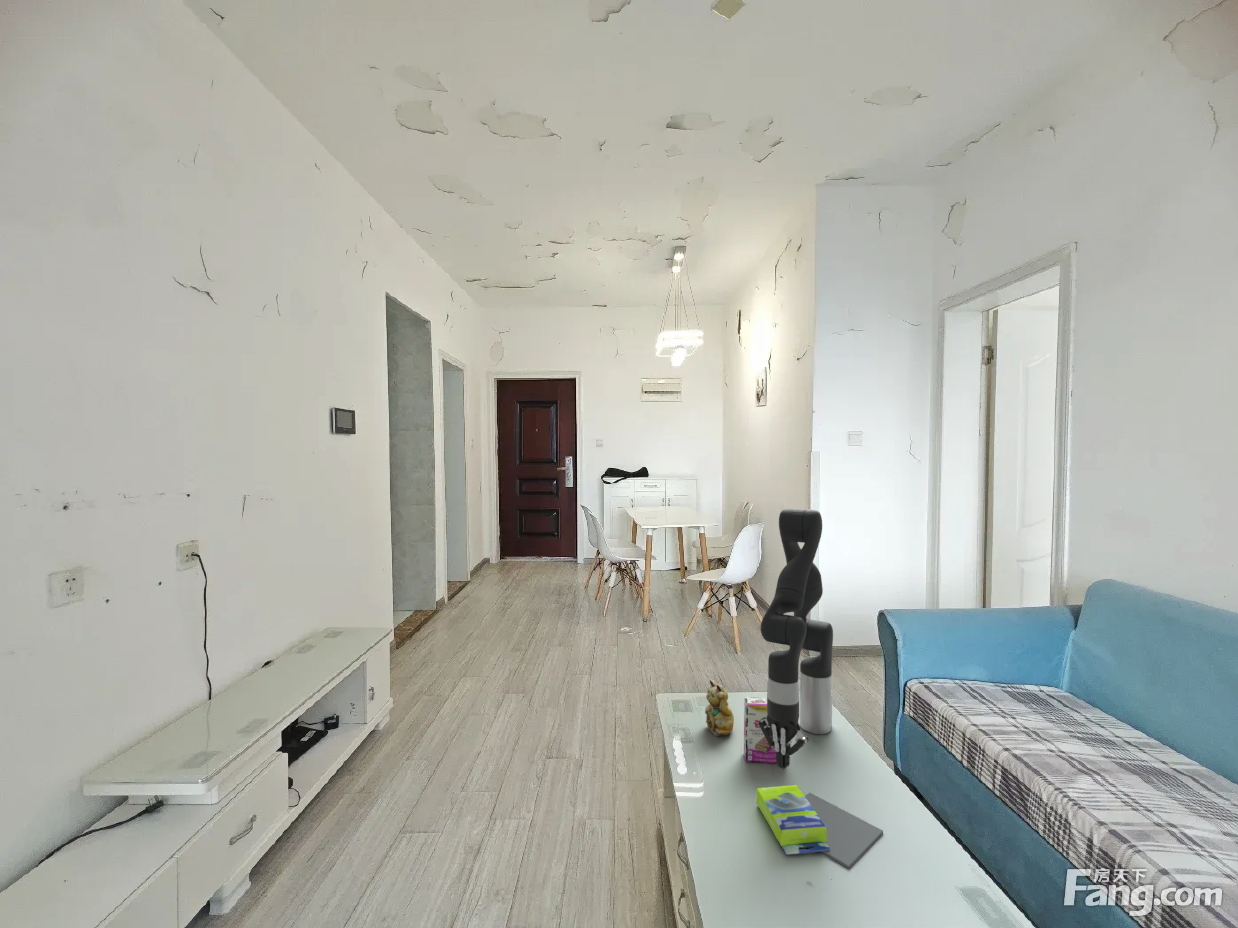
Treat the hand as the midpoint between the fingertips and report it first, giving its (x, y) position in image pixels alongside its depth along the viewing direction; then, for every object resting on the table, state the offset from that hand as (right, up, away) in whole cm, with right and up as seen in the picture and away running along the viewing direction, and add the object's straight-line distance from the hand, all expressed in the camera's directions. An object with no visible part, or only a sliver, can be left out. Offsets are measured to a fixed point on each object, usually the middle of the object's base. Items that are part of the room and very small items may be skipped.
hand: (782, 766), depth 132 cm
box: (-2, -7, 0) cm, 7 cm away
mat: (+7, -9, -9) cm, 15 cm away
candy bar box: (+1, -9, +19) cm, 21 cm away
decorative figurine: (-9, -9, +35) cm, 37 cm away
